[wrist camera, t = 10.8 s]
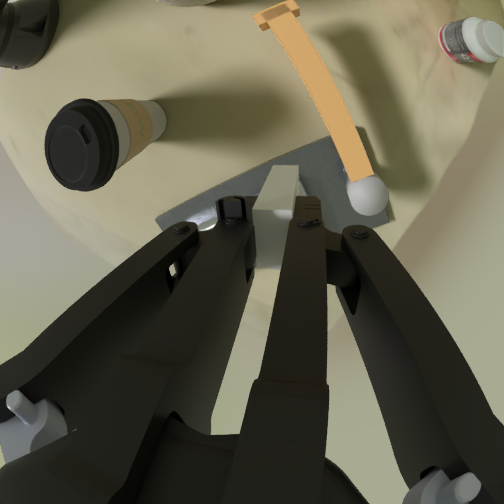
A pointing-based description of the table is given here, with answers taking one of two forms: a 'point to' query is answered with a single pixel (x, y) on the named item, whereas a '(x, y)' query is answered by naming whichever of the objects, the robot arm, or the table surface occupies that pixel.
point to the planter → (185, 2)
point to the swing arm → (327, 106)
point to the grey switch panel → (310, 184)
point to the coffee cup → (99, 139)
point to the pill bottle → (472, 40)
